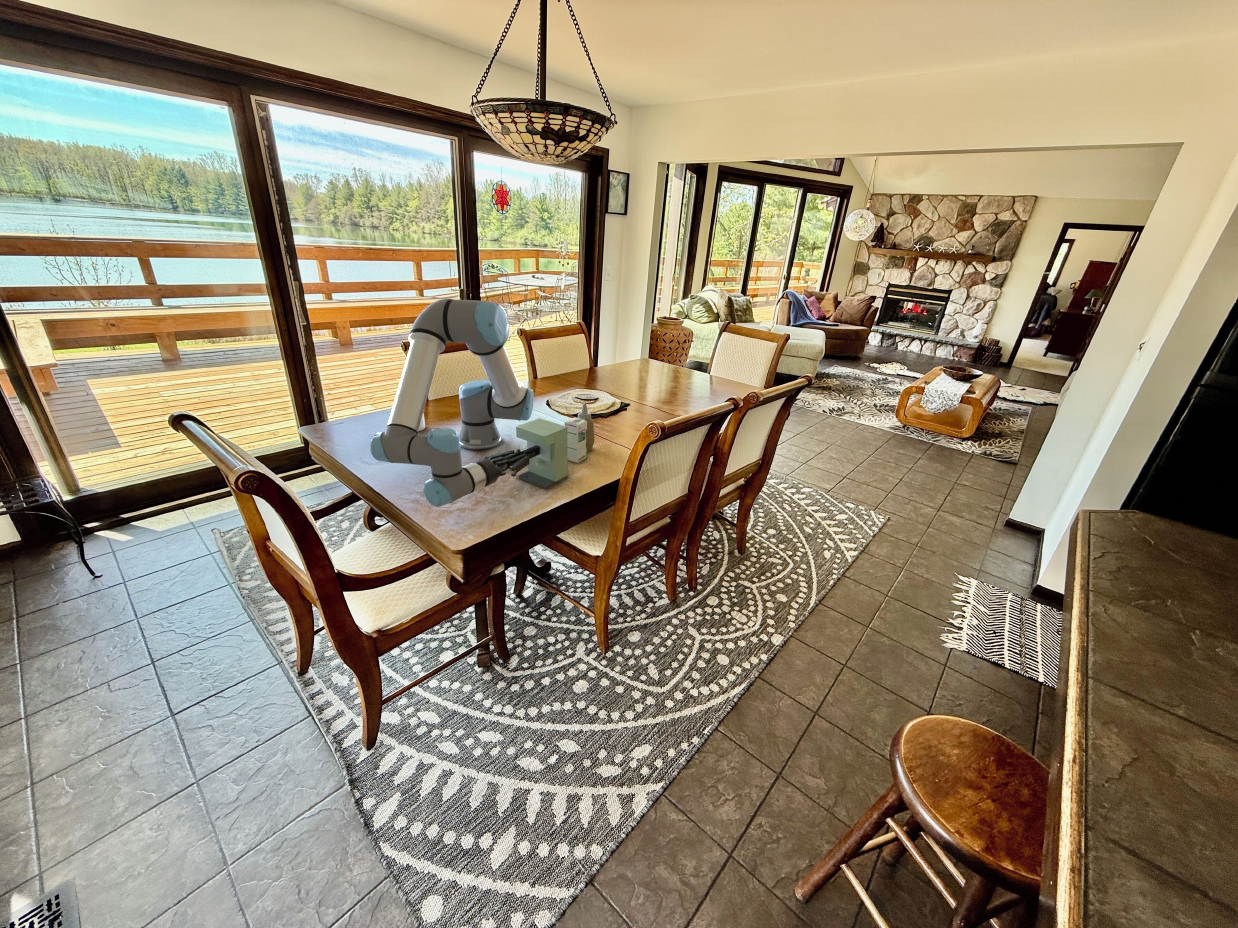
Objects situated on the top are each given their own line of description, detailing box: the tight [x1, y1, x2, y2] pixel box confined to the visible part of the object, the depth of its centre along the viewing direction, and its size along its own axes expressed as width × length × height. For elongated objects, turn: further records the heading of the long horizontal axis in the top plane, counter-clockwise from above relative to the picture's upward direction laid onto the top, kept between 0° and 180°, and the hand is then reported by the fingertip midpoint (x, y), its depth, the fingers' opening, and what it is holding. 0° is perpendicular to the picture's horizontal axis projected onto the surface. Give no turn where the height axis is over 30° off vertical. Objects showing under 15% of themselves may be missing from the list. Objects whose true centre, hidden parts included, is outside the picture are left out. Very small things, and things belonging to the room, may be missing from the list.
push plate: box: [528, 441, 551, 462], centre depth 151 cm, size 1×9×6 cm, turn 55°
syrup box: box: [564, 416, 588, 464], centre depth 169 cm, size 6×6×14 cm
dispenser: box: [515, 417, 569, 490], centre depth 153 cm, size 10×12×18 cm
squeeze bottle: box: [577, 402, 596, 453], centre depth 175 cm, size 8×8×18 cm
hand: (538, 449), depth 151 cm, fingers closed
